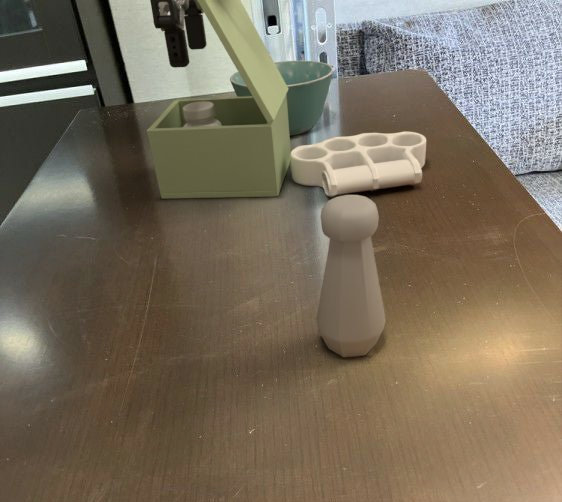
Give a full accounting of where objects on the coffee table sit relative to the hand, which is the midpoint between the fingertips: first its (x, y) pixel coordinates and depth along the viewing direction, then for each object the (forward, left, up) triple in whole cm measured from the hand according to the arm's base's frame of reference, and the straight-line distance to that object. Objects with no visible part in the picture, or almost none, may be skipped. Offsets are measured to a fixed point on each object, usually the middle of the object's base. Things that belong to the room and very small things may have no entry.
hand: (189, 57), depth 76 cm
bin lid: (+6, 0, +1) cm, 7 cm away
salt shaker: (+22, -37, -16) cm, 45 cm away
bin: (+3, 0, -15) cm, 16 cm away
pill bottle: (0, 0, -15) cm, 15 cm away
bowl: (+8, +20, -16) cm, 27 cm away
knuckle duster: (+21, 0, -16) cm, 26 cm away
